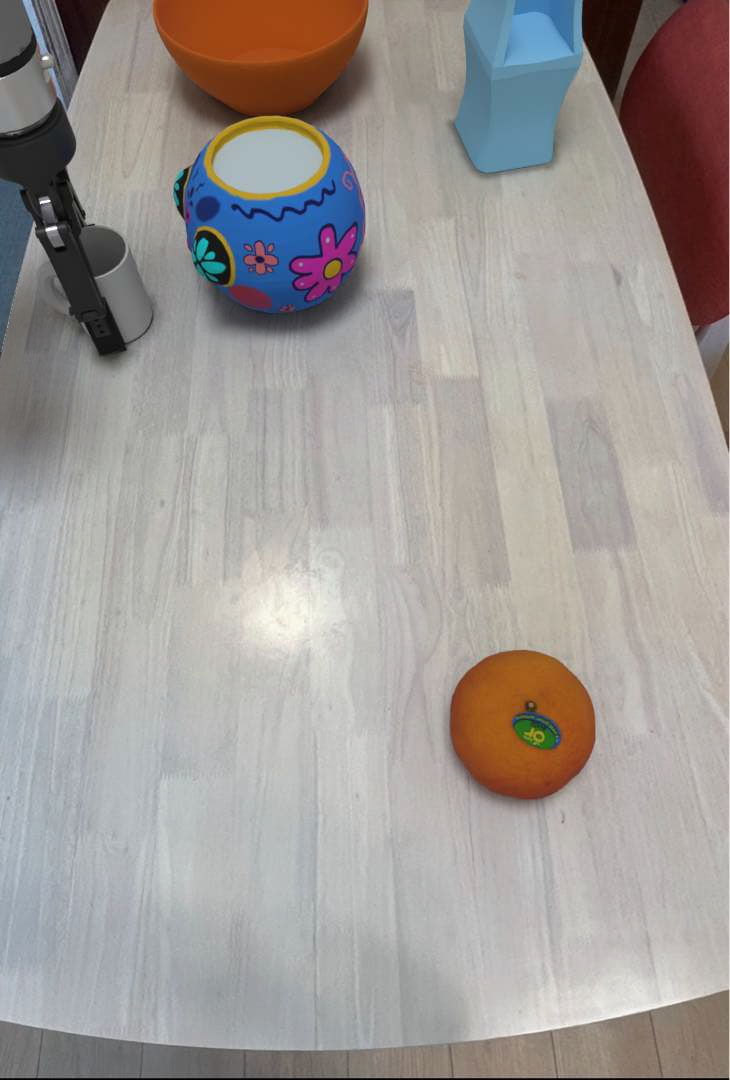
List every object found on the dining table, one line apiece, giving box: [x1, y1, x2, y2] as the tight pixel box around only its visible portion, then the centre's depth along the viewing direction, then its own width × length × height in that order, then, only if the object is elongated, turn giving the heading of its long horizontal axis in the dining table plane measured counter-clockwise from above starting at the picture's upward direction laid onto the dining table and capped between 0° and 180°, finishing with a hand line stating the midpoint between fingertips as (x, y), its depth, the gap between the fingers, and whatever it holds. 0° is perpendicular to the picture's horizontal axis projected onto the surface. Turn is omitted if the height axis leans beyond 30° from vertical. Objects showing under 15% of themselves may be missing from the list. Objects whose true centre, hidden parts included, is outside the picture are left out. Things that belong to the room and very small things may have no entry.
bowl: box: [152, 0, 369, 117], centre depth 92 cm, size 25×25×10 cm
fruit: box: [449, 649, 597, 801], centre depth 55 cm, size 11×10×8 cm
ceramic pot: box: [172, 116, 367, 314], centre depth 74 cm, size 18×18×15 cm
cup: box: [35, 224, 153, 344], centre depth 74 cm, size 7×10×9 cm
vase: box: [453, 0, 584, 174], centre depth 79 cm, size 10×10×25 cm
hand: (106, 321), depth 78 cm, fingers closed on cup, 7 cm apart
